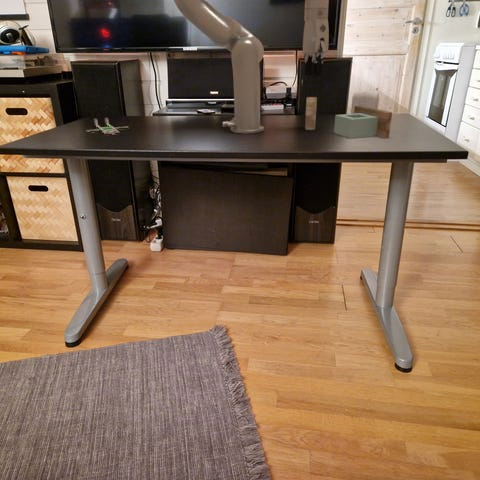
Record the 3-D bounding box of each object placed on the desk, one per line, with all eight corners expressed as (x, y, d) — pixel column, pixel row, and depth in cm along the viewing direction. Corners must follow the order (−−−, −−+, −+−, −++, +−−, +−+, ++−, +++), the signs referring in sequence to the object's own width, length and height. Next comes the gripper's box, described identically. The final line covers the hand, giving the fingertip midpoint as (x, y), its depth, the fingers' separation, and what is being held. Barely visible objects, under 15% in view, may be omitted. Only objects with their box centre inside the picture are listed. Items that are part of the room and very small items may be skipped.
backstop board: (334, 146, 126) (337, 117, 123) (307, 135, 142) (309, 109, 138) (388, 141, 132) (392, 112, 128) (356, 131, 148) (359, 105, 144)
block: (349, 138, 132) (351, 119, 129) (333, 132, 140) (335, 115, 138) (376, 135, 135) (378, 117, 132) (358, 130, 143) (360, 113, 140)
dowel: (307, 133, 146) (309, 98, 141) (303, 131, 149) (304, 97, 144) (316, 132, 147) (318, 97, 142) (311, 130, 150) (313, 96, 145)
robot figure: (81, 128, 167) (90, 137, 149) (79, 120, 165) (88, 128, 147) (121, 124, 173) (134, 132, 156) (120, 116, 172) (133, 124, 154)
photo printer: (376, 122, 162) (381, 90, 157) (374, 124, 159) (378, 91, 154) (351, 121, 167) (354, 89, 161) (348, 122, 164) (351, 90, 158)
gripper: (340, 13, 126) (335, 76, 134) (313, 17, 140) (310, 73, 148) (318, 13, 123) (315, 77, 131) (294, 17, 138) (292, 74, 146)
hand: (312, 74), depth 140 cm, fingers open, 4 cm apart
